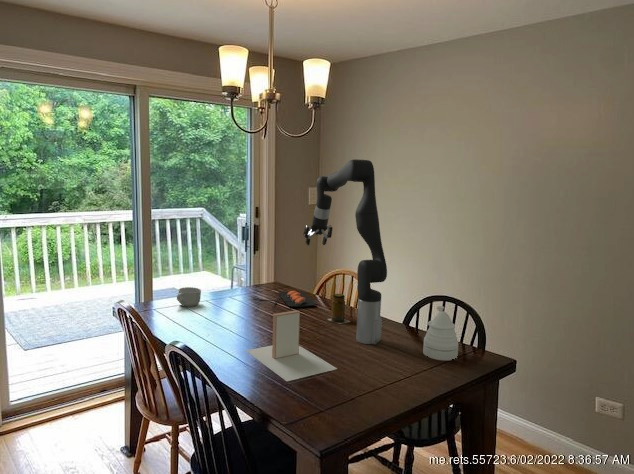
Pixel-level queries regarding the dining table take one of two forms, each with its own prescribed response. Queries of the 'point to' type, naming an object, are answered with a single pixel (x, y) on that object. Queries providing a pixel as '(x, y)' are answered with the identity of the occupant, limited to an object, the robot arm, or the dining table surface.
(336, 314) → the condiment
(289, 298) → the sushi plate
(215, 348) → the dining table surface
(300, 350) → the mat
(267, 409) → the dining table surface
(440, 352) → the honey pot
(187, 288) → the teacup
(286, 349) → the tile
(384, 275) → the robot arm
